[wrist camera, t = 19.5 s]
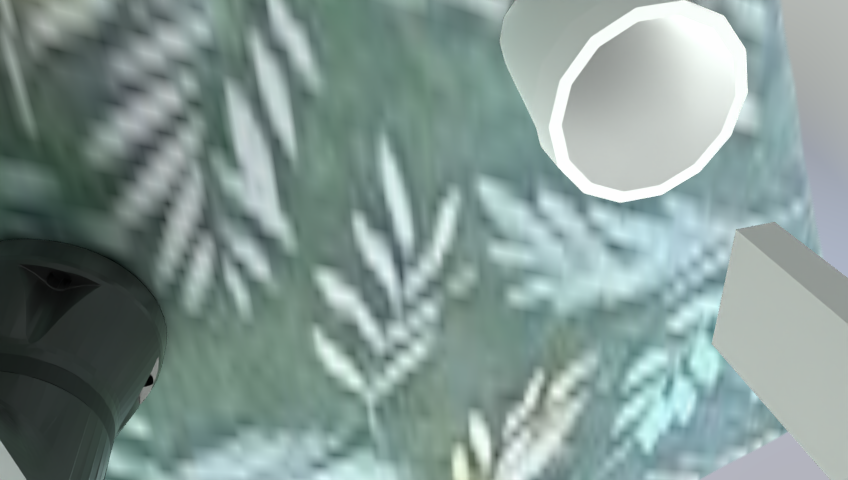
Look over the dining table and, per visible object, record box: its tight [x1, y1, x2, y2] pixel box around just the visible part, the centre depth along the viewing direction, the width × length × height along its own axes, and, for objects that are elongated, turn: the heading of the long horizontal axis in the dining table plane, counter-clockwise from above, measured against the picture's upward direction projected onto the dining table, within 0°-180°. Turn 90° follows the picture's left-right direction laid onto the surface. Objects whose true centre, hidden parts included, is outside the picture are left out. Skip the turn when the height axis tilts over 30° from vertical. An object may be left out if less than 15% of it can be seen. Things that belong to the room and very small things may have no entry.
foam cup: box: [500, 0, 748, 203], centre depth 34 cm, size 10×9×13 cm
